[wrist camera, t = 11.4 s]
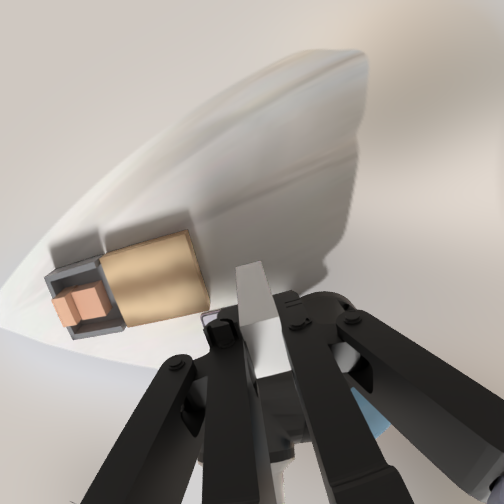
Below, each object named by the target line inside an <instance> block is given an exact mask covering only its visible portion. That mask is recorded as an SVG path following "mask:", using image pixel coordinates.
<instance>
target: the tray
mask: <svg viewBox="0 0 504 504" xmlns="http://www.w3.org/2000/svg"><path fill="white" fill-rule="evenodd" d="M103 255H104V254H102V255H98V256H95V257H92V258H89V259H86V260H82V261H79V262H76V263H73V264H70V265H67V266H64V267H61V268H58V269H55V270H54V271H52V272H51V273H49V274H48V275H47V276H45V277H44V279H45V281H46V284H47V286H48V289H49V291H50V293H51V296H52V298H54V297H55V296H56V295H57V294H58V293H60V292H61V291H62V290H63V289H64V288H66V287H70V286H74V285H78V286H79V285H83V284H88V283H92V282H96V281H100V280H102V282H103V285H104V288H105V290H106V293H107V295H108V298H109V300H110V303H111V305H112V309H111V310H110V311H109V313H108V314H107V315H106V316H102V317H97V318H91V319H86V320H82V319H81V320H80V322H79V323H78V324H77V325H73V326H67V327H66V328H67V330H68V331H69V333H70V335H71V337H72V339H73V340H76V339H82V338H88V337H94V336H100V335H106V334H111V333H117V332H122V331H124V329H125V328H126V326H127V325H126V323H125V321H124V318H123V316H122V314H121V312H120V309H119V307H118V305H117V303H116V300H115V298H114V295H113V293H112V291H111V288H110V286H109V283H108V281H107V278H106V276H105V273H104V270H103V268H102V265H101V262H100V260H99V259H100V258H101V257H102V256H103Z"/></svg>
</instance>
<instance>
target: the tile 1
mask: <svg viewBox="0 0 504 504" xmlns="http://www.w3.org/2000/svg"><path fill="white" fill-rule="evenodd" d="M76 287H78V285H74V286H70V287H66V288H64V289H63V290H62V291H61V292H60V293H58V294H57V295H56V296H55V297H54V298H53V299H52V300H51V301H52V303H53V305H54V308H55V310H56V312H57V314H58V316H59V318H60V321H61V323H62V325H63V327H67V326H73V325H77V324H78V323H79V322H80V320H81V319H82V318H81V316H80V313H79V311H78V309H77V307H76V304H75V302H74V300H73V297H72V295H71V292H72V291H73V290H74V289H75V288H76Z"/></svg>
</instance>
